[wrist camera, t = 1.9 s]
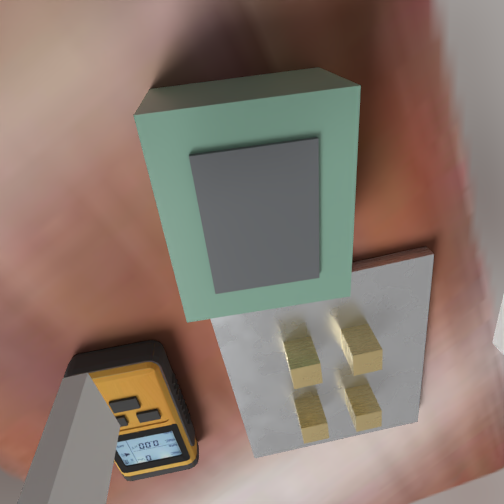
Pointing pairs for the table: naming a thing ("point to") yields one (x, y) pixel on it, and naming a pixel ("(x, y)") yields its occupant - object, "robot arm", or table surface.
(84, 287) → the table surface
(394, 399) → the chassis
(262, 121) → the block
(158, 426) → the electronic device
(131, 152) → the table surface
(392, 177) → the table surface
